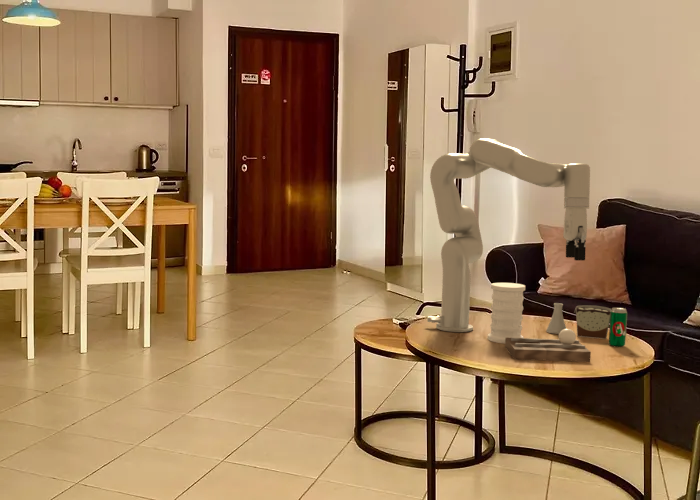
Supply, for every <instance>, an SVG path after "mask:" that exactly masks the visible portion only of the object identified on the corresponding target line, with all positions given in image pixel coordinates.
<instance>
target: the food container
mask: <svg viewBox="0 0 700 500" xmlns="http://www.w3.org/2000/svg"><path fill="white" fill-rule="evenodd" d="M611 310H612V308H609V307H606V306H600V305H590V304H589V305H577V306H575V309H574V312H573V314H575V315H576V317H575V318H576V319H575V320H576V338H577V337H578V338H579V337H581V338H588V339H589V338H590V339H591V338H592V339H599V338H600V339H601V340H607V337H608V334H609V332H608V331H609V328H610V313H611ZM600 339H599V340H600Z"/></svg>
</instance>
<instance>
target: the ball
mask: <svg viewBox="0 0 700 500" xmlns="http://www.w3.org/2000/svg"><path fill="white" fill-rule="evenodd" d="M576 338H577V334H576V333H575V331H574V330H573V329H571V328H566V329H563V330H562V331H561V332H560V333H559V334H558V339H559V341H560V342H561V343H562V344H564V345H571V344H573V343H574V342H575V340H577V339H576Z"/></svg>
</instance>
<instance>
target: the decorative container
mask: <svg viewBox="0 0 700 500" xmlns="http://www.w3.org/2000/svg"><path fill="white" fill-rule="evenodd" d="M490 289H492V295H491V300H492V303H491V314H490V319H491V322H490V326H489V327H490V332H489V333H488V334H487V340H488V341H490V342H494V343H499V344H505V338H525V337H524V336H523V335H522V330H523V325H522V321H523V320H524V319H523V317H524V316H523V310H524V306H523V302H524V299H525V298H524V292H525V291H526V285H525V284H522V283H516V282H515V283H514V282H493V283H491V286H490Z"/></svg>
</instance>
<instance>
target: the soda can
mask: <svg viewBox="0 0 700 500" xmlns="http://www.w3.org/2000/svg"><path fill="white" fill-rule="evenodd" d="M627 322H628V311H627V309H626V307H625V308H624V307H612V308H611V313H610V322H609V328H608V331H609V332H608V345H609V346H612V347H614V346H615V347H616V348H623V347H625V345H626V338H627V337H626V336H627V324H628V323H627ZM615 347H614V348H615Z"/></svg>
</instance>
